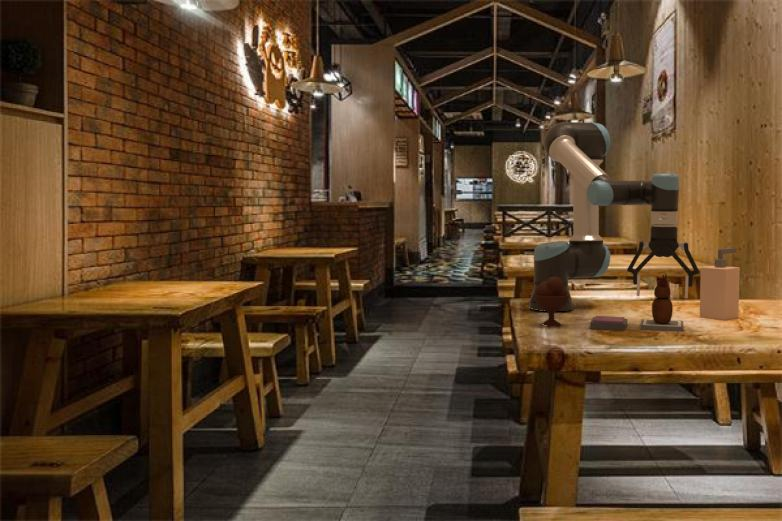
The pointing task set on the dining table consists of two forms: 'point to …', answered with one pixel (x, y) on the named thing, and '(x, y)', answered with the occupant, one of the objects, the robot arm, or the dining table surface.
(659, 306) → the wooden figurine
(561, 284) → the ice cream bowl
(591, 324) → the ink pad
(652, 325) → the marked board
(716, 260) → the soap dispenser
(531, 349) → the dining table surface
